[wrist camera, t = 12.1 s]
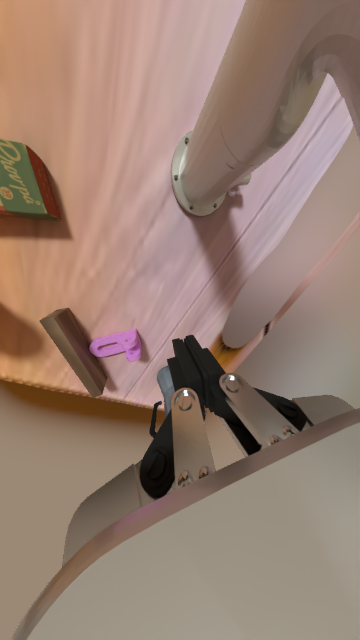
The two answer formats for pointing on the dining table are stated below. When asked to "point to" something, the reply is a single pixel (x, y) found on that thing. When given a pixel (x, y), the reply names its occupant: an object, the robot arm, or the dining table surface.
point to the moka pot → (167, 391)
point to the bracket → (126, 343)
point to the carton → (24, 184)
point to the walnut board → (75, 349)
